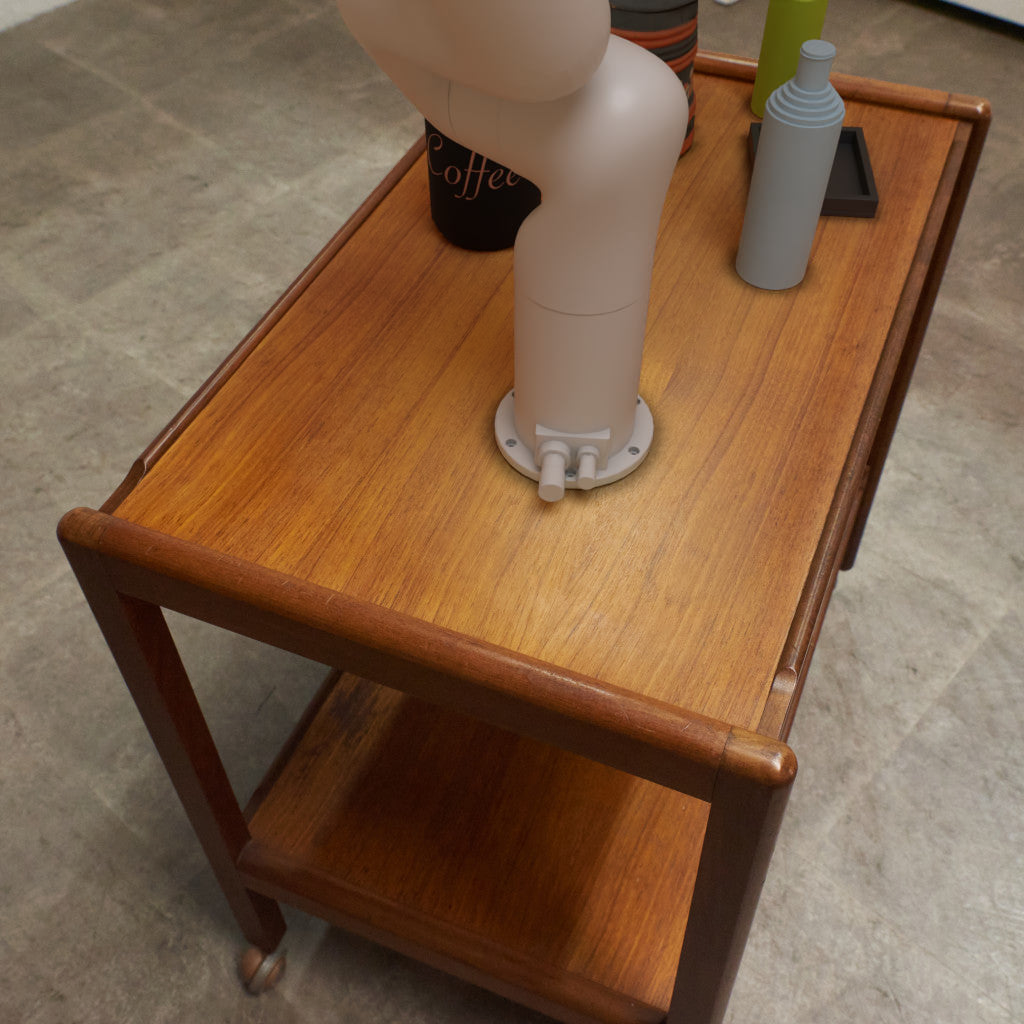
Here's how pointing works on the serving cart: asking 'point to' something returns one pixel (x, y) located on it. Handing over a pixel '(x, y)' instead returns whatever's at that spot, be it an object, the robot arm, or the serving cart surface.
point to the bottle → (791, 172)
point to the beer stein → (663, 39)
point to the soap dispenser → (784, 44)
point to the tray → (841, 175)
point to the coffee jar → (475, 195)
